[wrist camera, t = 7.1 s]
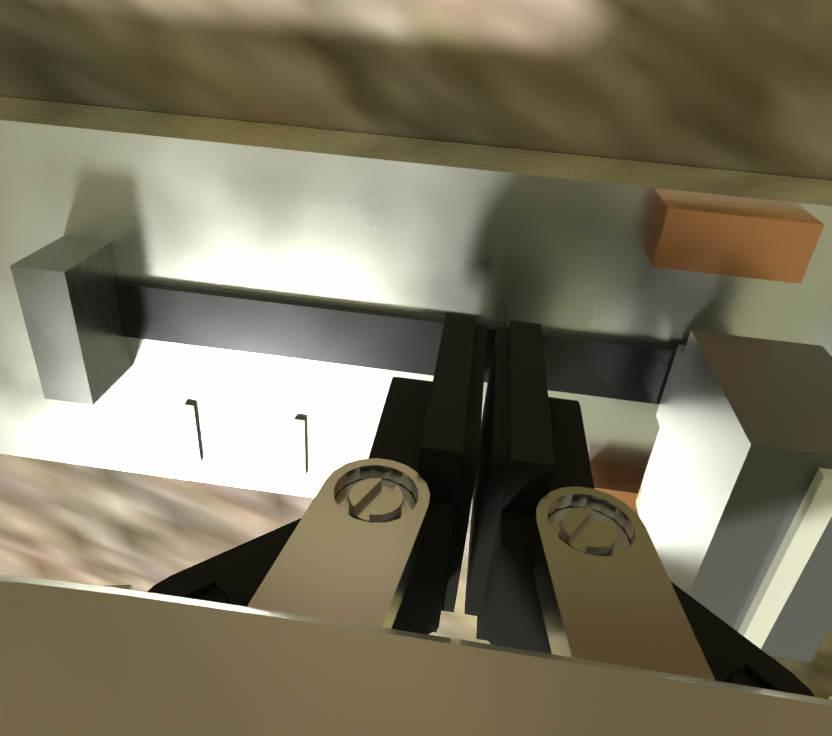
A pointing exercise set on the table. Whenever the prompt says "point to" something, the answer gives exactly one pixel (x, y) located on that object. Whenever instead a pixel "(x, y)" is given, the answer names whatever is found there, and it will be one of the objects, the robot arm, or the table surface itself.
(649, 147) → the table surface
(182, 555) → the table surface
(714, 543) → the fader tab
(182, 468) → the console
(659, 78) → the table surface
